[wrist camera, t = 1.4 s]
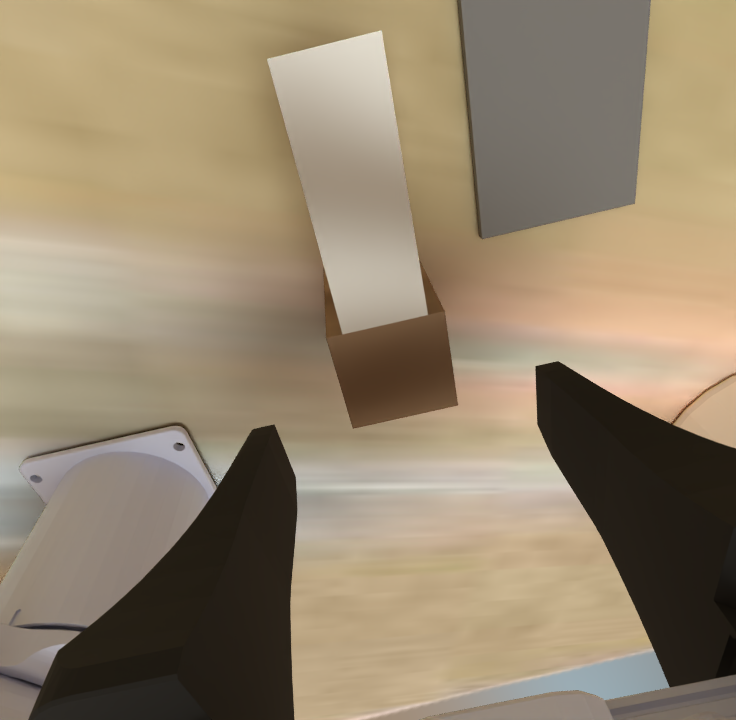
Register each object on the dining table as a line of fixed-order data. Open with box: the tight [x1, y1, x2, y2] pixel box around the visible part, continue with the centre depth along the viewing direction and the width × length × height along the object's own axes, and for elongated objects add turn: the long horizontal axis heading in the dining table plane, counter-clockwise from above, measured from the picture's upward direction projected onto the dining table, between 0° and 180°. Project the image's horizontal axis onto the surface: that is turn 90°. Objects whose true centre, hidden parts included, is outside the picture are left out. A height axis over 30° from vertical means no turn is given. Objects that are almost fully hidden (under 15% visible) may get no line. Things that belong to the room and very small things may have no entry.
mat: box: [458, 0, 651, 239], centre depth 17 cm, size 9×6×1 cm, turn 12°
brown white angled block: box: [267, 31, 458, 429], centre depth 17 cm, size 11×4×6 cm, turn 12°
